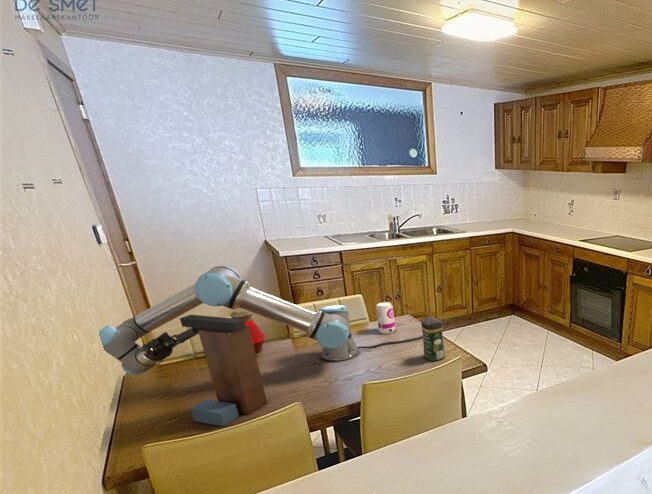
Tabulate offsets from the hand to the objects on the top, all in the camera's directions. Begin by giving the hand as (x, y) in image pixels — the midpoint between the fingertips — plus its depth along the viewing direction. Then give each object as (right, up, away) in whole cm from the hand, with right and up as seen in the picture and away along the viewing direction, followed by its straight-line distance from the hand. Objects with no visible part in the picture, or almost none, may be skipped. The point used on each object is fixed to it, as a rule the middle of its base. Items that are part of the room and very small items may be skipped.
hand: (188, 328), depth 146 cm
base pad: (+11, -31, -1) cm, 33 cm away
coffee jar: (+73, -13, +48) cm, 89 cm away
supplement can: (+42, -2, +77) cm, 88 cm away
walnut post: (+15, -28, +7) cm, 32 cm away
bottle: (-13, -11, +52) cm, 54 cm away
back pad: (+11, 0, -3) cm, 12 cm away
